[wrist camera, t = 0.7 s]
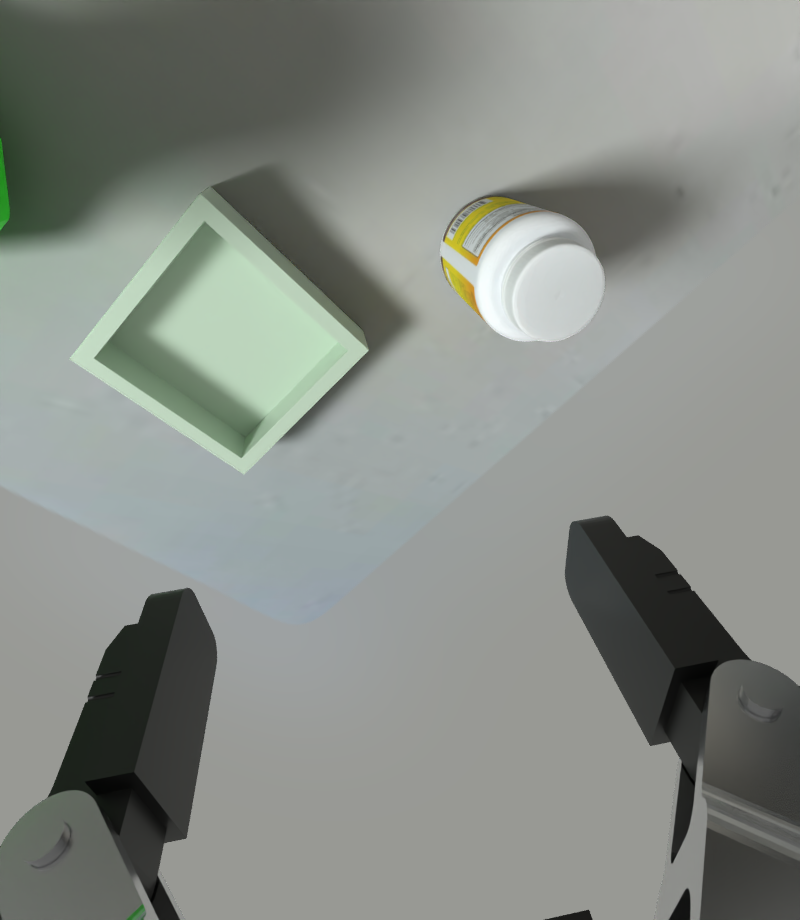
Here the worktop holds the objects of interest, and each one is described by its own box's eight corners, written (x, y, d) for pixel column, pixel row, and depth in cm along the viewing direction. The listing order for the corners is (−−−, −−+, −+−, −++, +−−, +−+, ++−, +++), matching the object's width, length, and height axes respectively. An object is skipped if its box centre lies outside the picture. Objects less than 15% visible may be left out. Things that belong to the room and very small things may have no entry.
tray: (210, 186, 26) (199, 193, 23) (362, 330, 31) (368, 350, 28) (91, 337, 29) (69, 359, 26) (248, 446, 34) (244, 474, 31)
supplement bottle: (515, 304, 32) (594, 368, 23) (427, 290, 30) (477, 353, 22) (545, 203, 29) (648, 235, 20) (450, 183, 28) (517, 208, 19)
